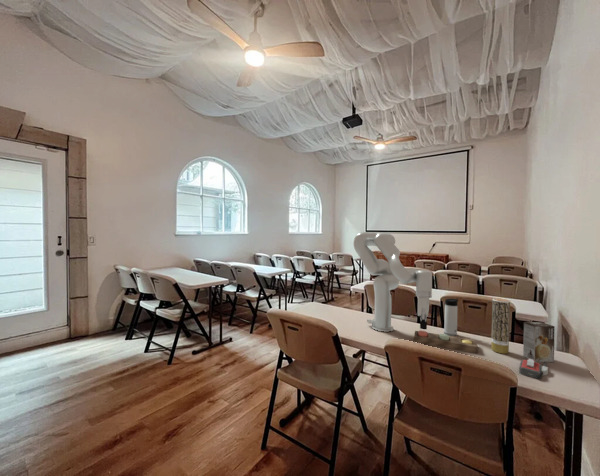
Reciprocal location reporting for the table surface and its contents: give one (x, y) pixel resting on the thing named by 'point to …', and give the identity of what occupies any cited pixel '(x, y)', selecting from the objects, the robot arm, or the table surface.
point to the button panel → (447, 342)
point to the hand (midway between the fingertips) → (423, 328)
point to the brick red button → (422, 333)
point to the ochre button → (466, 341)
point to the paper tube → (500, 325)
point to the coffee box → (538, 341)
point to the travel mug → (450, 317)
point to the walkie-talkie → (533, 368)
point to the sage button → (444, 337)
